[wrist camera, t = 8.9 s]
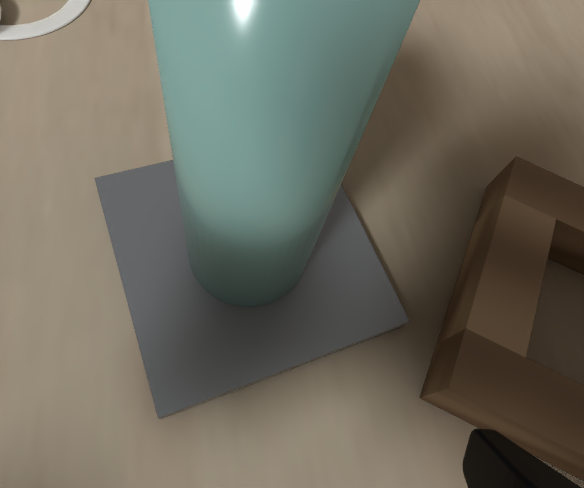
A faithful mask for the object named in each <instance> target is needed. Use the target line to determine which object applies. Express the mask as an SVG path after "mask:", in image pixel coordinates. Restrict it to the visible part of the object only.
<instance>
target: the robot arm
mask: <svg viewBox="0 0 584 488" xmlns="http://www.w3.org/2000/svg"><path fill="white" fill-rule="evenodd" d="M463 473H464V477H465V480H466V483H467V486H468V488H581V487H579V486H578V485H576V484H575V483H573V482H572V481H570V480H569V479H567V478H566V477H564V476H563V475H561V474H560V473H558V472H557V471H555V470H554V469H553V468H551V467H550V466H548V465H547V464H545V463H544V462H542V461H541V460H539V459H538V458H536V457H535V456H533V455H532V454H530V453H529V452H527V451H526V450H524V449H523V448H521V447H520V446H518V445H517V444H515V443H514V442H512V441H511V440H509V439H508V438H506V437H505V436H503V435H502V434H500V433H499V432H497V431H496V430H493V429H474V430H473V431H472V432H471V434H470V437H469V441H468V445H467V448H466V452H465V455H464V459H463Z"/></svg>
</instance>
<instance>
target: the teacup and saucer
mask: <svg viewBox="0 0 584 488" xmlns="http://www.w3.org/2000/svg"><path fill="white" fill-rule="evenodd" d="M90 1H91V0H68V2H67V3H66V4H65V5H64V6H63V7H62V8H61V9H60V10H59V11H57V12H56V13H54V14H53V15H51V16H49V17H47V18H45V19H42V20H39V21H36V22H32V23H28V24H22V25H0V40H20V39H27V38H33V37H37V36H41V35H45V34H48V33H51V32H53V31H56V30H58V29H60V28H62V27H64V26H66V25H67V24H69V23H71V22H72V21H73V20H75V19H76V18H77V17H78V16H79V15H80V14H81V13H82V12H83V11H84V10H85V9H86V7H87V6H88V4H89V3H90ZM1 11H2V9H1V6H0V20H1Z"/></svg>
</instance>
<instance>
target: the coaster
mask: <svg viewBox="0 0 584 488" xmlns="http://www.w3.org/2000/svg"><path fill="white" fill-rule="evenodd" d="M95 182H96V185H97V189H98V193H99V197H100V200H101V204H102V208H103V212H104V216H105V219H106V223H107V227H108V231H109V234H110V238H111V242H112V246H113V249H114V253H115V257H116V261H117V265H118V268H119V272H120V276H121V280H122V283H123V287H124V291H125V295H126V299H127V302H128V306H129V310H130V314H131V317H132V321H133V325H134V329H135V332H136V336H137V340H138V344H139V348H140V351H141V355H142V359H143V363H144V366H145V370H146V374H147V378H148V382H149V385H150V389H151V393H152V397H153V400H154V404H155V408H156V412H157V415H158V418H159V419H162V418H165V417H167V416H170V415H173V414H175V413H178V412H180V411H183V410H186V409H188V408H191V407H193V406H196V405H199V404H201V403H204V402H206V401H209V400H212V399H214V398H217V397H219V396H222V395H225V394H227V393H230V392H233V391H235V390H238V389H240V388H243V387H246V386H248V385H251V384H253V383H256V382H259V381H261V380H264V379H266V378H269V377H272V376H274V375H277V374H279V373H282V372H285V371H287V370H290V369H292V368H295V367H298V366H300V365H303V364H305V363H308V362H311V361H313V360H316V359H318V358H321V357H324V356H326V355H329V354H331V353H334V352H337V351H339V350H342V349H344V348H347V347H350V346H352V345H355V344H358V343H360V342H363V341H365V340H368V339H371V338H373V337H376V336H378V335H381V334H384V333H386V332H389V331H391V330H394V329H397V328H399V327H402V326H404V325H406V324H407V323H408V322H410V321H409V319H408V317H407V315H406V313H405V311H404V309H403V307H402V305H401V303H400V301H399V299H398V297H397V295H396V293H395V291H394V289H393V287H392V285H391V283H390V281H389V279H388V277H387V275H386V273H385V271H384V269H383V267H382V265H381V263H380V261H379V259H378V257H377V255H376V253H375V251H374V249H373V247H372V245H371V243H370V241H369V239H368V236H367V234H366V232H365V230H364V228H363V226H362V224H361V222H360V220H359V218H358V216H357V214H356V212H355V210H354V208H353V206H352V204H351V202H350V200H349V198H348V196H347V194H346V192H345V190H344V188H343V186H342V184H341V186H340V189H339V191H338V193H337V196H336V198H335V200H334V202H333V205H332V207H331V209H330V212H329V214H328V216H327V219H326V221H325V223H324V226H323V228H322V230H321V233H320V235H319V237H318V240H317V242H316V244H315V247H314V249H313V251H312V254H311V256H310V258H309V261H308V263H307V265H306V268H305V270H304V272H303V274H302V276H301V278H300V280H299V282H298V283H297V284H296V286H295V287H294V288H293V289H292V290H291V291H290V292H289V293H288V294H286V295H285V296H284V297H282V298H280V299H279V300H277V301H274V302H272V303H269V304H266V305H262V306H256V307H243V306H236V305H232V304H228V303H226V302H223V301H221V300H219V299H217V298H215V297H214V296H212V295H211V294H209V293H208V292H207V291H206V290H205V289H204V288H203V287H202V286H201V285H200V284H199V282H198V281H197V279H196V278H195V276H194V274H193V272H192V270H191V267H190V263H189V258H188V252H187V245H186V239H185V232H184V226H183V220H182V213H181V207H180V200H179V194H178V188H177V181H176V175H175V168H174V162H173V160H171V161H166V162H162V163H158V164H153V165H149V166H145V167H140V168H136V169H132V170H127V171H123V172H119V173H114V174H110V175H106V176H101V177H97V178H95Z"/></svg>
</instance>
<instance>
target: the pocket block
mask: <svg viewBox="0 0 584 488" xmlns="http://www.w3.org/2000/svg"><path fill="white" fill-rule="evenodd" d="M548 258H550V259H553V260H555V261H557V262H559V263H561V264H563V265H565V266H567V267H570V268H572V269H574V270H576V271H578V272H580V273H582V274H584V187H582V186H580V185H578V184H575V183H573V182H571V181H569V180H567V179H565V178H562V177H560V176H558V175H556V174H554V173H551V172H549V171H547V170H545V169H543V168H540V167H538V166H536V165H534V164H532V163H529V162H527V161H525V160H523V159H521V158H519V157H515V158H514V159H513V160H512V161H511V162H510V163H509V164H508V165H507V166H506V167H505V168H504V169H503V170H502V172H501V173H500V174H499V175H498V176H497V177H496V178H495V179H494V180H493V181H492V182H491V183H490V184H489V185H488V186H487V188H486V191H485V194H484V197H483V200H482V203H481V207H480V210H479V213H478V216H477V219H476V222H475V225H474V229H473V232H472V235H471V238H470V241H469V244H468V247H467V250H466V254H465V257H464V260H463V263H462V266H461V269H460V272H459V276H458V279H457V282H456V285H455V288H454V291H453V294H452V298H451V301H450V304H449V307H448V310H447V313H446V316H445V319H444V323H443V326H442V329H441V332H440V335H439V338H438V341H437V345H436V348H435V351H434V354H433V357H432V360H431V363H430V366H429V370H428V373H427V376H426V379H425V382H424V385H423V388H422V392H421V395H420V398H421V399H423V400H425V401H427V402H429V403H431V404H433V405H435V406H437V407H439V408H441V409H443V410H445V411H447V412H449V413H451V414H453V415H455V416H457V417H459V418H461V419H463V420H465V421H467V422H468V423H470V424H472V425H474V426H476V427H478V428H480V429H493V430H496V431H497V432H499V433H500V434H502V435H503V436H505V437H506V438H508V439H509V440H511V441H512V442H514V443H515V444H517V445H518V446H520V447H521V448H523V449H524V450H526V451H527V452H529V453H530V454H532V455H534V456H536V457H538V458H540V459H542V460H544V461H546V462H548V463H550V464H552V465H554V466H556V467H558V468H560V469H561V470H563V471H565V472H567V473H569V474H571V475H573V476H575V477H577V478H579V479H581V480H583V481H584V386H583V385H581V384H579V383H577V382H575V381H573V380H571V379H569V378H567V377H564V376H562V375H560V374H558V373H556V372H554V371H552V370H550V369H548V368H546V367H544V366H542V365H540V364H538V363H536V362H534V361H532V360H530V359H528V358H526V355H527V350H528V346H529V341H530V336H531V332H532V327H533V323H534V318H535V314H536V309H537V304H538V300H539V295H540V291H541V286H542V282H543V277H544V272H545V268H546V263H547V259H548Z"/></svg>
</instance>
